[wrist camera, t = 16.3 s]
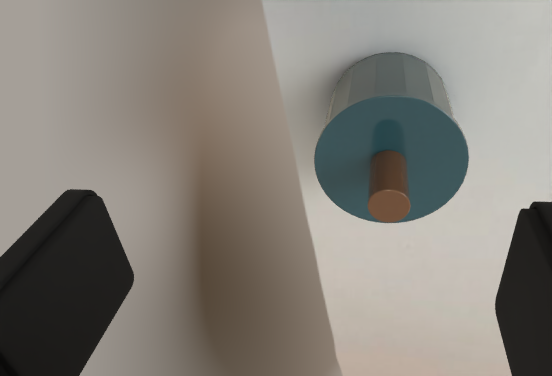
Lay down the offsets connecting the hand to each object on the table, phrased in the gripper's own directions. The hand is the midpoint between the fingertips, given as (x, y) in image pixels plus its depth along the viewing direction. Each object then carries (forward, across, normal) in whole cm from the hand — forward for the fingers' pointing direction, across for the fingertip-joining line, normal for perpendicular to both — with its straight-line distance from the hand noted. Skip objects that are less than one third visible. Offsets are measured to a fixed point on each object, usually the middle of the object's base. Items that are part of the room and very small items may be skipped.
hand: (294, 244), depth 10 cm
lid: (+18, -3, +9) cm, 21 cm away
